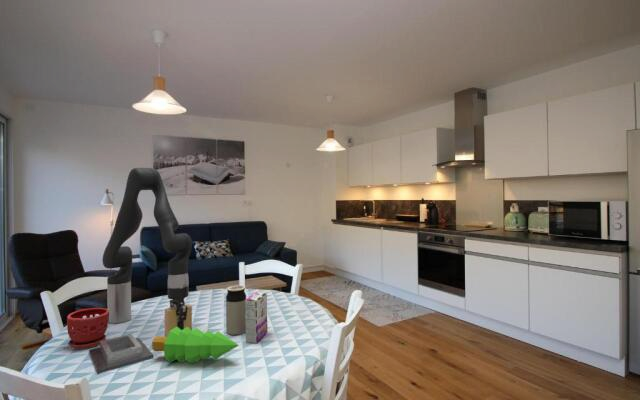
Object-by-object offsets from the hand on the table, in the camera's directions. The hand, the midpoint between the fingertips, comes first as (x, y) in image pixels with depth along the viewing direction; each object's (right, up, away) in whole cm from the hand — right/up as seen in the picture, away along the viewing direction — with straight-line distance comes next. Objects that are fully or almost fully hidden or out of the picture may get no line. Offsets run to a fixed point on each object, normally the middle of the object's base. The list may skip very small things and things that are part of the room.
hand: (178, 328), depth 130 cm
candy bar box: (+31, -4, 0) cm, 31 cm away
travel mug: (+21, -4, +6) cm, 22 cm away
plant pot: (-32, -4, -4) cm, 33 cm away
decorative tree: (+14, -4, -19) cm, 24 cm away
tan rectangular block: (0, -4, 0) cm, 4 cm away
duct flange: (-14, -4, -14) cm, 20 cm away
